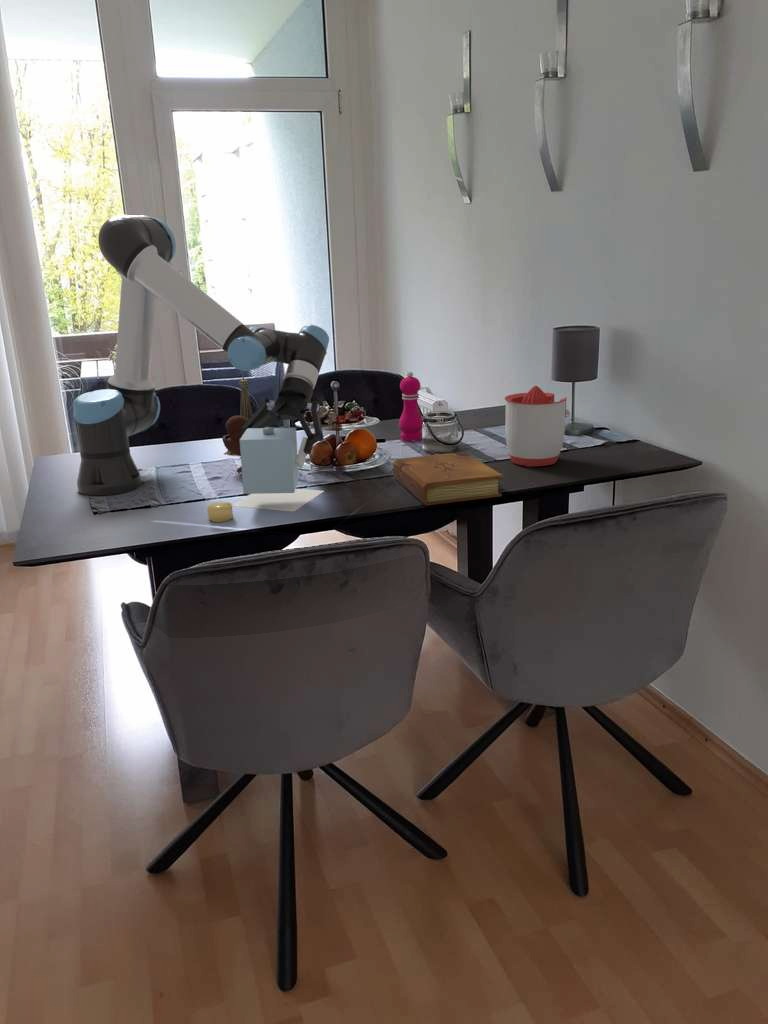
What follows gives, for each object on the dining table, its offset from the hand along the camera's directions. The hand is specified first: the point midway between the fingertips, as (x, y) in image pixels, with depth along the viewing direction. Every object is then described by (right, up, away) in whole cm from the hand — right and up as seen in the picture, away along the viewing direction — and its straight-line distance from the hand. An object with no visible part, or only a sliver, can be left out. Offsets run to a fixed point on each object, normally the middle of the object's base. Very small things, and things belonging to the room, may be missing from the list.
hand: (271, 463), depth 181 cm
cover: (0, -5, -1) cm, 5 cm away
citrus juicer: (+65, +2, +30) cm, 72 cm away
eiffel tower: (-13, +6, +50) cm, 52 cm away
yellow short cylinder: (-10, -13, -8) cm, 18 cm away
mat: (+1, -8, +5) cm, 10 cm away
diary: (+40, -6, +11) cm, 42 cm away
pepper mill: (+33, +11, +60) cm, 69 cm away
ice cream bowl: (-11, 0, +31) cm, 33 cm away
